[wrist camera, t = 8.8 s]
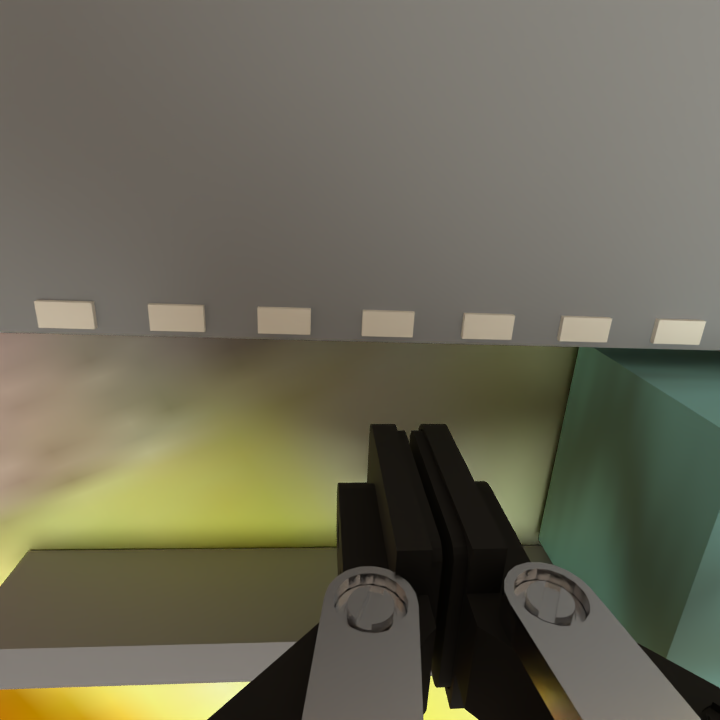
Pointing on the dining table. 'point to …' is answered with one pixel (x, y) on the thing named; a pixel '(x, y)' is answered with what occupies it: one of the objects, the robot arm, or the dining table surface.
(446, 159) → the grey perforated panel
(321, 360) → the dining table surface
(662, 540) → the teal rectangular box
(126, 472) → the dining table surface
